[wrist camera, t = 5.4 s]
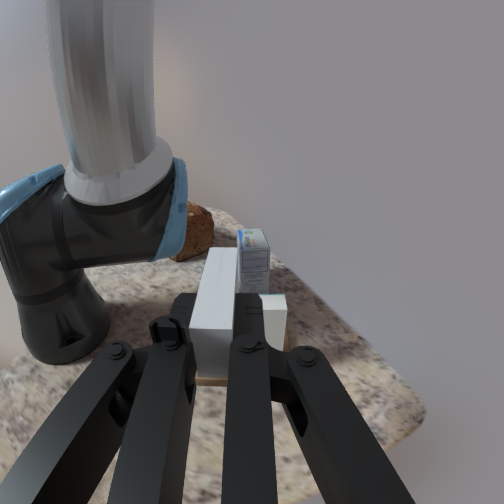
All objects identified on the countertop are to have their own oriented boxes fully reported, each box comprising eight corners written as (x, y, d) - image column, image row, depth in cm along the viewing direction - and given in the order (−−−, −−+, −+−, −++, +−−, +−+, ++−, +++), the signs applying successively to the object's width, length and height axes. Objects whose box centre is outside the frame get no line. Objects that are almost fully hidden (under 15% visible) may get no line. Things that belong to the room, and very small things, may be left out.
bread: (216, 249, 60) (214, 204, 56) (173, 266, 53) (167, 217, 49) (173, 226, 72) (170, 189, 68) (137, 238, 65) (131, 198, 61)
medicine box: (269, 297, 45) (271, 248, 41) (241, 299, 44) (240, 249, 40) (261, 272, 52) (262, 227, 48) (237, 273, 51) (236, 228, 47)
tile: (190, 370, 29) (179, 308, 25) (193, 354, 32) (183, 293, 28) (280, 371, 30) (287, 309, 26) (278, 355, 32) (284, 293, 28)
